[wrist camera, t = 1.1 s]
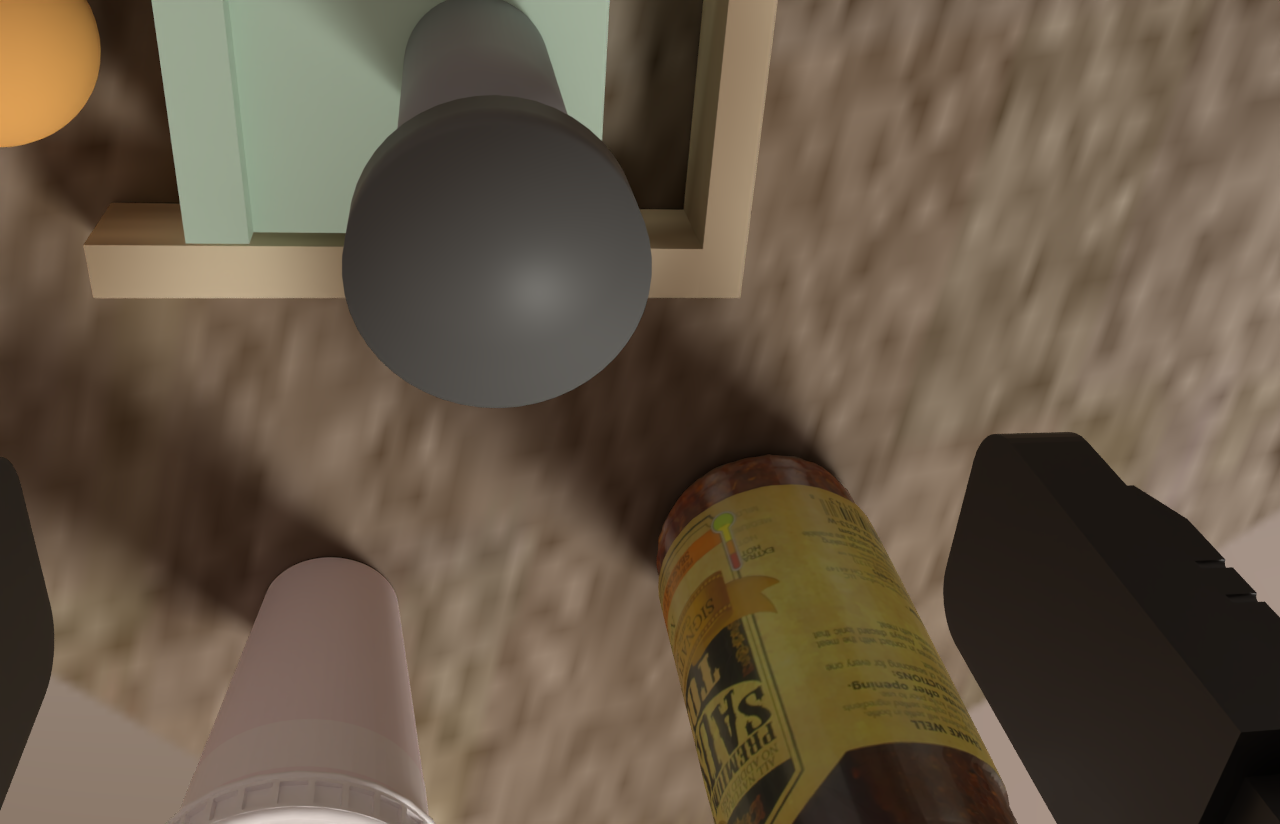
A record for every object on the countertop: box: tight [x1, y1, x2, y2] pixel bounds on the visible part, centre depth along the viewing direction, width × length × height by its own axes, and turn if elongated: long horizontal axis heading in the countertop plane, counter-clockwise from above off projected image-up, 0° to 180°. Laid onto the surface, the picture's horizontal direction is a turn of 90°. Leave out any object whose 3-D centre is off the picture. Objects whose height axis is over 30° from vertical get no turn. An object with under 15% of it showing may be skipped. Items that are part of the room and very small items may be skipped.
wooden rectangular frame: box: [83, 0, 778, 298], centre depth 24 cm, size 14×10×2 cm
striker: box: [151, 0, 652, 408], centre depth 19 cm, size 8×7×13 cm
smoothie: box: [165, 557, 435, 824], centre depth 27 cm, size 6×6×14 cm
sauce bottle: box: [657, 454, 1018, 824], centre depth 25 cm, size 7×6×20 cm
